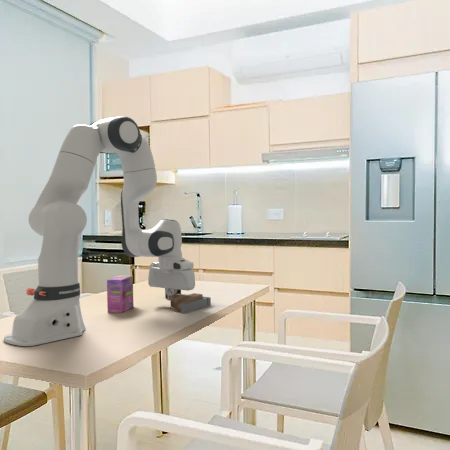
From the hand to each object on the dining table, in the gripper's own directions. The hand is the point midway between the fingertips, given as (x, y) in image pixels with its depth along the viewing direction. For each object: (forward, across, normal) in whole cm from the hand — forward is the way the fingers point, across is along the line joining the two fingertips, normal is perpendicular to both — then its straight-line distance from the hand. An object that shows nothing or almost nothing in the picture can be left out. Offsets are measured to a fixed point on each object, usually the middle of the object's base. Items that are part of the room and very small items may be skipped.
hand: (171, 300), depth 167 cm
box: (+2, -13, -13) cm, 18 cm away
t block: (+2, +6, 0) cm, 6 cm away
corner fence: (+2, +7, +1) cm, 8 cm away
